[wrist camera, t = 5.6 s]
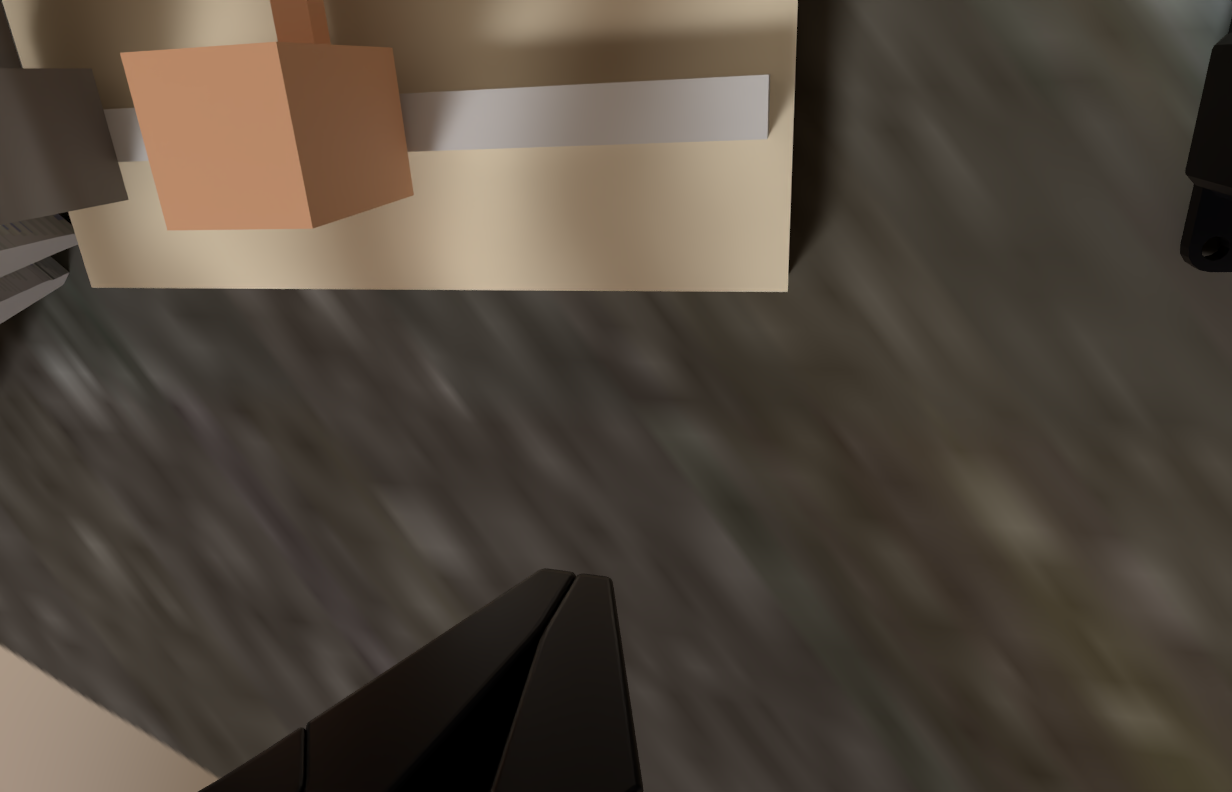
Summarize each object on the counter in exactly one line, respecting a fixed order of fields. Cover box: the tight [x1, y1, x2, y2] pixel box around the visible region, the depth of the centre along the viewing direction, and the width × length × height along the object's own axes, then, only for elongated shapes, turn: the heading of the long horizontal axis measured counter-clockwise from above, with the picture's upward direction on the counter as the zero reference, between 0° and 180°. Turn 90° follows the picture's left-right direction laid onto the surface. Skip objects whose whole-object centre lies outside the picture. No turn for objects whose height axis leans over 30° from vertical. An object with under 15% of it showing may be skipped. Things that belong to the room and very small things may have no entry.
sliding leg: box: [120, 0, 414, 230], centre depth 15 cm, size 3×7×5 cm, turn 4°
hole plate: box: [0, 0, 798, 292], centre depth 16 cm, size 19×11×6 cm, turn 94°
